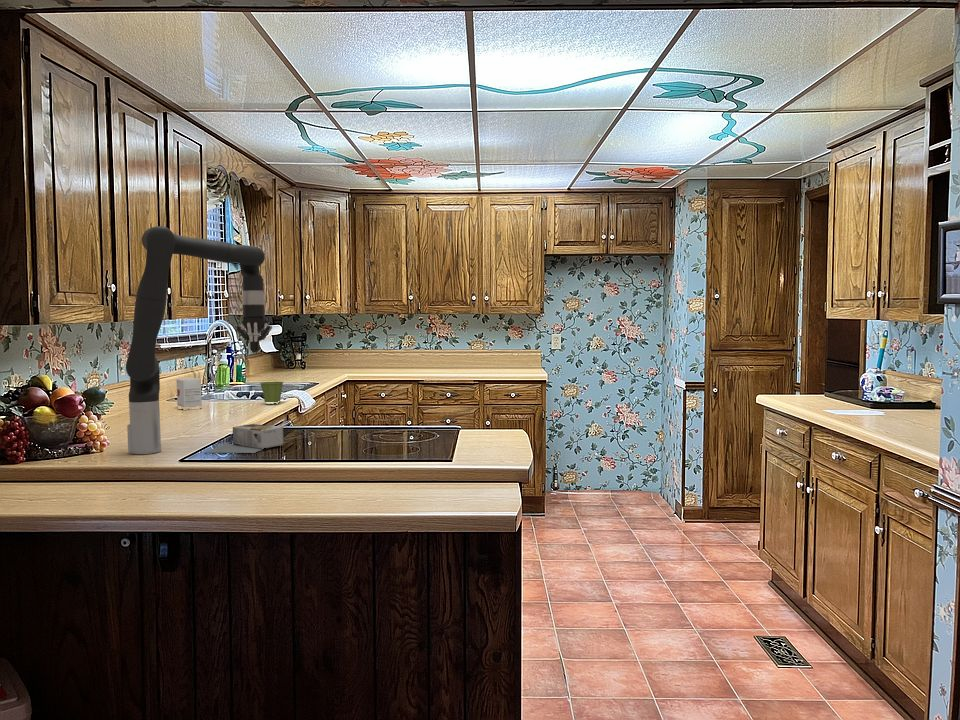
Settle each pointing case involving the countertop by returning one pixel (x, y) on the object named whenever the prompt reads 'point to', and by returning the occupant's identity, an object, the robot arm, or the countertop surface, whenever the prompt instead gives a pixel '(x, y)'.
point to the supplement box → (189, 392)
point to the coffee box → (258, 436)
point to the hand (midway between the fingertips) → (255, 352)
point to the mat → (233, 449)
